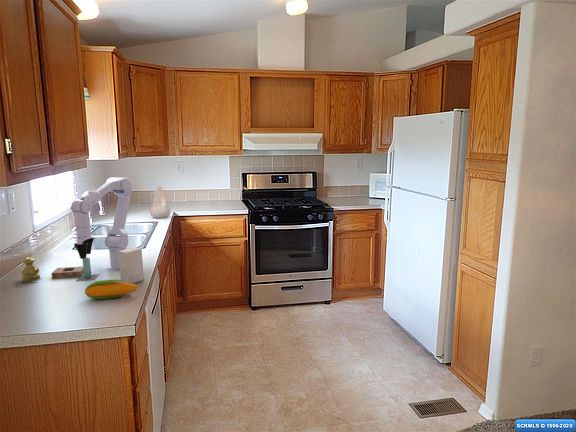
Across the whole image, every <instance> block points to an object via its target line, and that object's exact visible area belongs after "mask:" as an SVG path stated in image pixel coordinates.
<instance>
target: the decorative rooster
mask: <svg viewBox="0 0 576 432" xmlns="http://www.w3.org/2000/svg"><path fill="white" fill-rule="evenodd" d="M170 214H171V207H170V205H168V203H167V196H166V192H165V191H164V190H163V188H162V186H161V185H158V186H157V187H156V189H155V190H154V191H153V200H152V204H151V207H150V208H149V215H150V216H151V217H153V218H154V219H155V218H156V219H166V218H168V217H169V216H170ZM165 217H166V218H165Z"/></svg>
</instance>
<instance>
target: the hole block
mask: <svg viewBox="0 0 576 432" xmlns="http://www.w3.org/2000/svg"><path fill="white" fill-rule="evenodd" d="M82 275H84V270H83V265H82V266H67V267H66V266H65V267H57V268H56V269H54V270H53V271H52V272H51V279H71V278H73V279H74V278H79V277H81V276H82Z"/></svg>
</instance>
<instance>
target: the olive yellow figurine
mask: <svg viewBox="0 0 576 432" xmlns="http://www.w3.org/2000/svg"><path fill="white" fill-rule="evenodd" d="M35 262H36V259H35V258H34V257H32V258H31V257H27V258H24V259H23V260H22V262H21V263H23V264H24V266H25V267H23V268H22V269H21V270H20V274H21V276H20V279H21V281H22V282H25V283H29V282H34V281H38V280H40V278H41V273H40V268H39V267H36V266H35V265H34V263H35Z"/></svg>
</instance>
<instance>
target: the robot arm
mask: <svg viewBox="0 0 576 432" xmlns="http://www.w3.org/2000/svg"><path fill="white" fill-rule="evenodd" d="M132 185H133V183H132V181H131V180H130V178H129V177H114V176H111V177H109V178H107V179H106V182H105V183H103V184H102V185H101V186H100V187H98V189H96V190H88V192H87V194H85V195H83V196H81V197H80V198H78V199H75V200H73V201H72V203H71V206H70V209H71V211H72V213H73V216H74V221H75V223H74V224H75V233H76V234H75V236H73V239H75V240H76V243H75V242H74V243H73V247H74V248H75V249H76V251H77V253H78V256H79V258H80V260H82V259H86V258H87V255H91V253H92V247H93V242H94V240H95V237H92V233H91V232H92V231H91V223H90V212H91V210H92V208H93V207H94V206H95V205H96V204H98V203H99V202H100V201H101V199H102V197H103V196H105V195H106V194H107V193H110V192H112V193H113V194H115V195H116V196H117V197H118V198H117V204H116V208H115V213H114V218H113V224H112V228H111V229H110V230H109V231H108V232H107V235H106V237H105V239H104V245H105V246H106V247H107V249H108V251H109V263H110V265H109V266H108V268H107V269H108V270H109V269H120V265H119V254H118V251H121V250H124V249H127V247H128V245H129V239H128V237H129V234H128V233H127V232H126V230H125V228H126V223H127V217H128V212H129V206H130V202H131V191H132Z"/></svg>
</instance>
